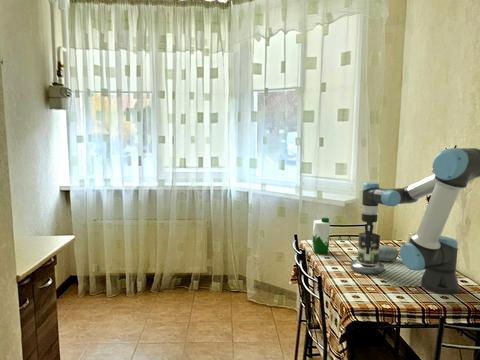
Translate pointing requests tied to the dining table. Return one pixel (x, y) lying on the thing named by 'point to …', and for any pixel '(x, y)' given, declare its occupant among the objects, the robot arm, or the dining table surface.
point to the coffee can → (374, 249)
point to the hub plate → (367, 268)
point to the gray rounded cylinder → (387, 253)
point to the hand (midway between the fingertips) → (367, 256)
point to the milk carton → (321, 236)
